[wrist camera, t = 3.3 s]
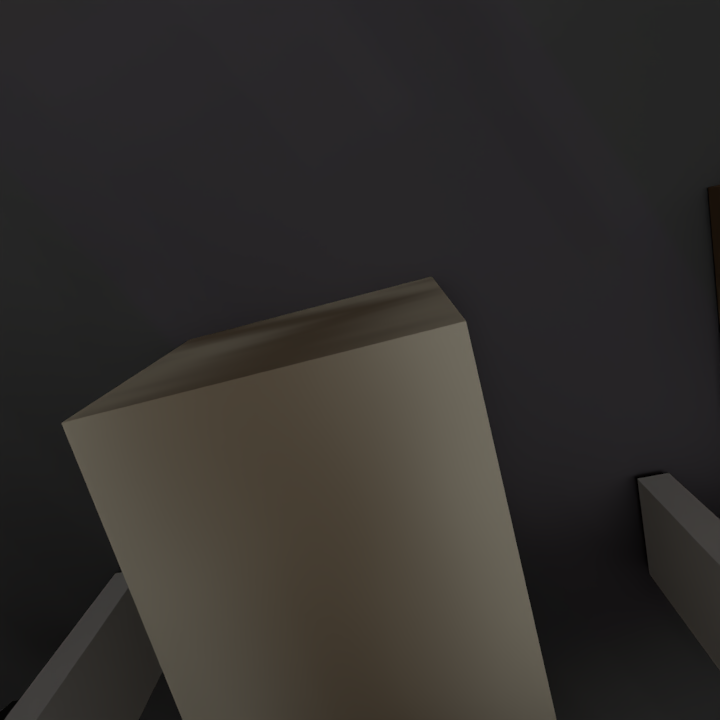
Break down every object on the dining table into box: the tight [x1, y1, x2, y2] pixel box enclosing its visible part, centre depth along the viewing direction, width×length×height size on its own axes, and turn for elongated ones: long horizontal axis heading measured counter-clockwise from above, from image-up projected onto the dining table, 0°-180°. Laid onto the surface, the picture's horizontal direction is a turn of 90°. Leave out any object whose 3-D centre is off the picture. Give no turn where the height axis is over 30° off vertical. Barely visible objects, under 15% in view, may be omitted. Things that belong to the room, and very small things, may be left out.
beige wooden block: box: [62, 277, 556, 720], centre depth 13 cm, size 6×14×6 cm, turn 15°
